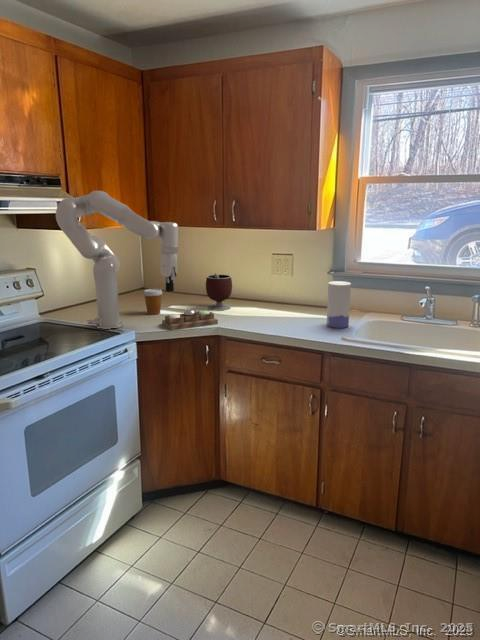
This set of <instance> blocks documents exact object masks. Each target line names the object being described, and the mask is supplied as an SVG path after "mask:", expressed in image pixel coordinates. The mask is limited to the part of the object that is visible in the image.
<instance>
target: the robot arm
mask: <svg viewBox="0 0 480 640" xmlns="http://www.w3.org/2000/svg"><path fill="white" fill-rule="evenodd" d="M56 209H57V210H55V220H56V222H57V225H58V227H59V228H60V230H61V231H62V232H63V233H64V235H65V236H66V237H67V238H68V240H69V241H70V242H71V244H72V245H73V246H74V247H75V248H76V250H77V251H78V252H79V254H80V255H81V256H82V257H83V258H84V259H87V260H92V261H93V262H94V264H93V267H92V272H93V279H94V286H95V295H96V296H95V297H96V308H97V309H96V310H97V316H96V318H94V319H88V320H87V325H94V327H95V326H96V327H101V328H117V329H120V328H123V326H124V322H123V321H121V319H120V304H119V303H120V301H119V290H118V280H117V274H118V272H119V270H120V268H121V264H120V260H119V258H118V257H117V256H116V255H115V254H114V252H113V251H112V250H111V249H110V247H109V246H108V244H106V243H105V241H104V240H103V239H102V238H100V237H99V236H96V235H92V234H91V233H90V232H89V231H88V229H87V228H86V227H85V226H84V225H83V224H82V222H80V220H79V219H78V218H81V217H84V216H88V215H91V214H96V213H98V214H100V215H102V216H104V217H106V218H107V219H110V220H112V221H113V222H115V223H117V224H119V225H120V226H121V227H124V228H125V229H127V230H129V231H130V232H132V233H134V234H136V235H138V236H140V237H141V238H142V239H143V238H144V240H145V239H146V240H148V241H149V240H150V241H151V240H155V239H157V238H160V254H161V255H160V274H161V275H162V276H164V278H165V279H164V280H165V291H166V292H167V293H169V292H174V289H175V287H174V285H175V284H174V283H175V280H176V277H177V276H178V257H177V256H178V255H179V225H178V223H176V222H172V221H171V222H170V221H169V222H168V221H166V222H164V221H163V222H162V221H161V222H160V221H157V220H148V219H146V218H144V217H143V216H141V215H139V214H137V213H135V212H134V211H133V210H132V209H131V208H130V207H129V206H128V205H126V204H124V203H122V202H121V201H119V200H117V199H115V198H113V197H112V196H110V195H109V194H108V193H107V192H105V191H103V190H93V191H91V192H90V193H89V194H84V195H80V196H77V197H76V196H75V197H66V198H63V199H62V200H61V201H60V202H59V203H58V205H57V206H56ZM96 327H95V328H96Z"/></svg>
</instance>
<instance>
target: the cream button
mask: <svg viewBox="0 0 480 640" xmlns="http://www.w3.org/2000/svg"><path fill="white" fill-rule="evenodd" d="M178 314H179V313H178ZM178 314H176V313H174V314H169V318H171V319H172V318H180V314H179V315H178Z"/></svg>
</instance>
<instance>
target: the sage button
mask: <svg viewBox="0 0 480 640" xmlns="http://www.w3.org/2000/svg"><path fill="white" fill-rule="evenodd" d="M198 312H199V314H201V315H204V314H210V312H211V310H200V311H198Z"/></svg>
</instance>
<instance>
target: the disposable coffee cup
mask: <svg viewBox="0 0 480 640" xmlns="http://www.w3.org/2000/svg"><path fill="white" fill-rule="evenodd" d="M142 294H143V296H144V301H145V305H146V312H147V315H150V316H154V315H155V316H156V315H160V314H161V308H162V305H161V304H162V295H163V290H162V289H161V288H148V289H147V288H146V289H145V290H143V293H142Z"/></svg>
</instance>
